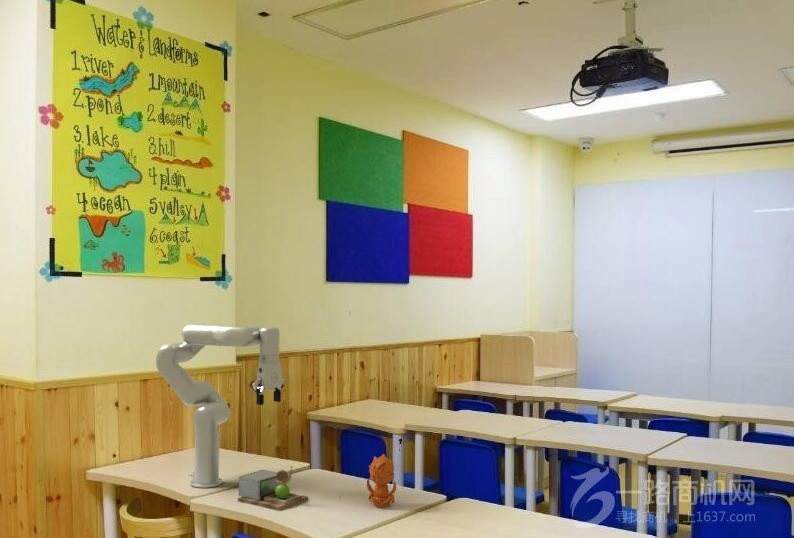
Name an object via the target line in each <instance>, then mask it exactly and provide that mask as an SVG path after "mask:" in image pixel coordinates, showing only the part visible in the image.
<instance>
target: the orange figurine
mask: <svg viewBox="0 0 794 538" xmlns="http://www.w3.org/2000/svg"><path fill="white" fill-rule="evenodd" d="M368 468H369V470H368V472H369V474H370V475H369V476H370V477H369V478H367V479H366V489H367V491H368V492H369V495H368V498H367V499H368V502H371V504H373V507H375V508H382V509H383V508H388V507H390V505H391V504H394V503H395V502H396V501H395V492H396V491H397V481H396V480H395V472H394V471H395V467H394V462H393V461H392V459H390V458H388V457H386V454H384V453H383V454H382V455H381V456H379V457H377V456H375V455H374V457H373V460H372V462H371V463H370V465H368ZM393 480H394V481H393ZM370 481H371V482H373V483H374V484H375V486H374V488H372V485H371V484H370ZM392 481H393V486H392V489H391V490H390V491H389V485H388V484H390V483H391V482H392Z"/></svg>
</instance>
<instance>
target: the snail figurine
mask: <svg viewBox="0 0 794 538" xmlns="http://www.w3.org/2000/svg"><path fill="white" fill-rule="evenodd" d="M293 467H294V466H293V465H291V466H290V469H288V472H287V471H286V470H284V469H279V470H278V471H276V472H277V474H276V478H277V479H278V480H276V482H277V483H278V484H279V485H278V486H277V487H276V489H275V495H276V496H277V497H278V498H279V499H285V498H287V497H288V496H289V494H290V492H291V489H290V486H289V485H288V484H289V482H290V481H291V478H292V474H293Z"/></svg>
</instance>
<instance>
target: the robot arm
mask: <svg viewBox="0 0 794 538" xmlns="http://www.w3.org/2000/svg"><path fill="white" fill-rule="evenodd" d="M181 339H182V340H181V341H177V342H169V343H166V344H164V345H162V346H161V347H160V348H159V349H158V350H157V352H156V357H155V365H156V368H157V370H158V372H159V374H160V375H161V377H162V378H163V379H164V380H165V381H166V383H167V384H168V385H169V386H170V388H171V389H172V391H173V392H174V393H175V394H176V395H177V397H178V399H180V401H181V402H182V403H183V404H184V405H185V406H186V407H189V408H192V407H197V408H196V409H195V410H194V412H193V416H192V423H193V429H194V462H193V463H194V467H193V469H192V470H191V472H189V473H188V476H189V477H192V479H191V480H190V481H189V485H190V486H191V487H193V488H199V489H200V488H202V489H203V488H205V489H206V488H214V487H218V486H220V485H222V484H223V482H224V479H222V478H221V477H220V434H219V433H220V431H219V429H218V426H219V425H221V424H223V423H225V422H227V421H228V419H229V417H230V413H231V411H230V408H229V405H228V403H227V402H226V400H225V399H224V397H222V395H221V394H220V393H219V392H218V390H216V388H215V387H214V386H213V385H212V384H211V383H210V382H208V381H205V380H198V381H197V380H194V378H193V377H192V376H191V375H190V373H189V372H188V371H187V370H186V369H185V368H183V367H182V366H181V365H180V364H182V363H187V362H189V361H190V360H192V359H193V358H194V357H195V356H197V355H198V354H199V353H200V352H201V351H202V350H203V348H205V347H206V346H214V347H217V346H218V347H238V348H239V347H240V348H241V347H244V348H245V347H251V346H257V345H259V357H258V360H259V363H258V367H257V373H256V380H255V381H254V382H253V383H252V385H251V386H252V388H253V391H254V392H255V395H256V403H255V404H256V405H258V406H263V405H265V403H264V401H265V398H264V397H265V394H264V392H265V390H274V391H273V401H274V402H277V403H280V402H281V399H282V391H283V387H284V385H285V381H286V379H285V378H283V372H282V365H281V361H280V329H279V327H275V326H273V327H272V326H265V327H263V326H258V325H252V326H224V325H222V324H220V323H219V324H218V323H217V324H214V323H213V324H211V323H205V322H199V323H190V324H187V325H185V327H183V329H182V330H181Z"/></svg>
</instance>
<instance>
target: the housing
mask: <svg viewBox="0 0 794 538" xmlns="http://www.w3.org/2000/svg"><path fill="white" fill-rule="evenodd" d="M277 472H278V471H272V470H268V469H267V470H266V469H260V470H257V471H253V472H250V473H247V474H243V475H240V476H238V497H246V498H250V499H255V500H259V501H260V500H261V498H262V496H263V495H266V494H269V493H272V492H275V489H276V487H277V486H278V485H279V484H278V483H277V482H276V480H278V479H277V478H276V474H277Z"/></svg>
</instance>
